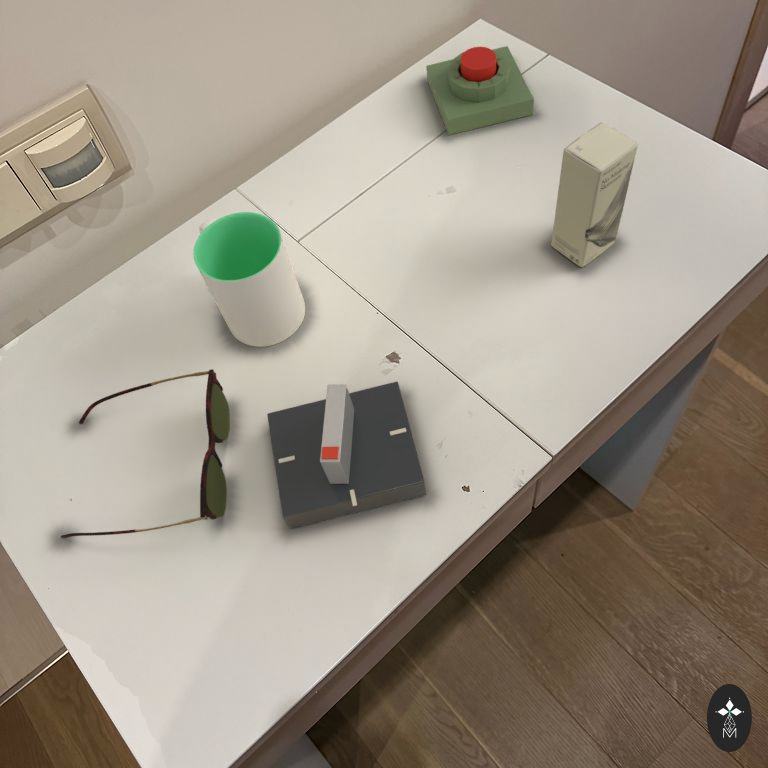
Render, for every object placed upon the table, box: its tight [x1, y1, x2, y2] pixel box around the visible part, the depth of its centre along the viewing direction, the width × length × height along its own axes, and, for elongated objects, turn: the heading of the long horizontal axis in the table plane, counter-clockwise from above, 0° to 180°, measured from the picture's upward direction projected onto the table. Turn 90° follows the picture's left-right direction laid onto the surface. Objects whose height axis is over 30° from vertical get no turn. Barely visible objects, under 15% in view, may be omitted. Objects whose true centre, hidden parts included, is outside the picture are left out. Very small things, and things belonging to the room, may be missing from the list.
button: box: [460, 46, 496, 82], centre depth 84 cm, size 4×4×2 cm
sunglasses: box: [60, 368, 231, 539], centre depth 67 cm, size 14×15×5 cm
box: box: [550, 121, 639, 268], centre depth 70 cm, size 5×4×13 cm
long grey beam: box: [320, 383, 354, 484], centre depth 62 cm, size 7×2×5 cm, turn 177°
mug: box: [192, 211, 306, 348], centre depth 72 cm, size 12×8×10 cm, turn 42°
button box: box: [425, 45, 535, 136], centre depth 87 cm, size 10×10×4 cm
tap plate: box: [266, 381, 428, 529], centre depth 65 cm, size 12×11×3 cm
